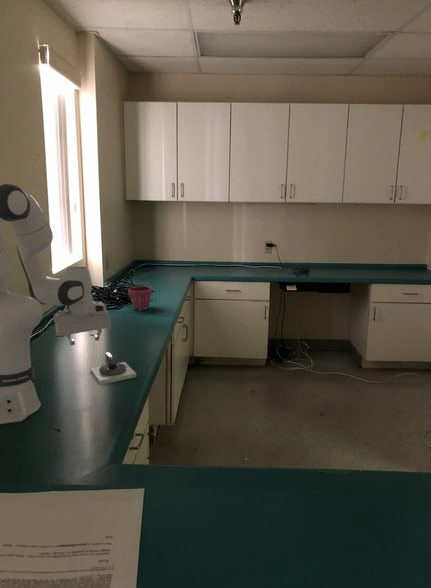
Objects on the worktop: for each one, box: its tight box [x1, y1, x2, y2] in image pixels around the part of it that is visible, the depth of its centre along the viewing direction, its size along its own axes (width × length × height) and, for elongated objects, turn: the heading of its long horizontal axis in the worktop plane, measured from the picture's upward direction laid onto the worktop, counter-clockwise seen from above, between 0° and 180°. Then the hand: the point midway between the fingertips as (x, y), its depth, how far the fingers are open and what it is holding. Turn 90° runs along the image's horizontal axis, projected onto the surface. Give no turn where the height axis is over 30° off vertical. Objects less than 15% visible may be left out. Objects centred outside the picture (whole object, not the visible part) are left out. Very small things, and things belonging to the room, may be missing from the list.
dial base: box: [90, 361, 137, 385], centre depth 173 cm, size 14×14×2 cm
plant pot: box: [127, 285, 153, 309], centre depth 273 cm, size 14×14×13 cm
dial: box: [99, 351, 126, 375], centre depth 173 cm, size 12×10×5 cm
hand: (85, 342), depth 172 cm, fingers open, 8 cm apart
